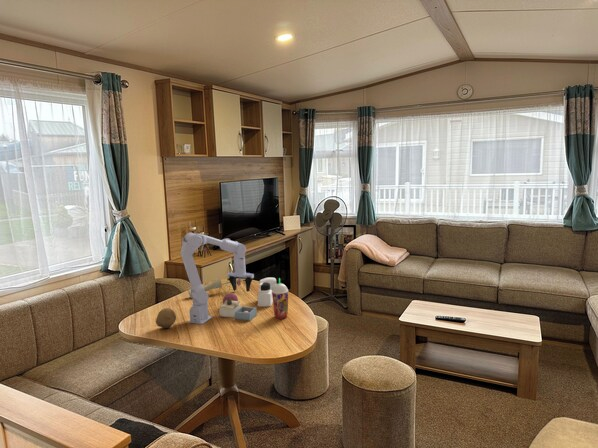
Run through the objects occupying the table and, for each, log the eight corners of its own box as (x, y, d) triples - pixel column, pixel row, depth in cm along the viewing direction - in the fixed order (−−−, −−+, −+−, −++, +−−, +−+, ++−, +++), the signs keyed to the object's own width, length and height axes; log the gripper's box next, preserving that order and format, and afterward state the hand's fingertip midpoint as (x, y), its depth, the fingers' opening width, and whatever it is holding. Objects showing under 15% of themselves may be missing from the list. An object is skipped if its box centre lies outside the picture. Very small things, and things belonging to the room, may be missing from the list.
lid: (233, 309, 206) (232, 302, 204) (220, 308, 208) (219, 301, 207) (239, 302, 212) (238, 296, 211) (226, 301, 215) (225, 295, 213)
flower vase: (193, 308, 244) (247, 286, 256) (195, 308, 232) (251, 286, 245) (187, 289, 245) (241, 269, 257) (188, 289, 233) (245, 267, 245)
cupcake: (225, 311, 222) (231, 312, 212) (217, 298, 221) (223, 299, 211) (238, 302, 226) (245, 303, 216) (230, 289, 225) (237, 290, 215)
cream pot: (233, 317, 206) (233, 310, 205) (219, 316, 208) (219, 308, 208) (240, 312, 213) (240, 304, 213) (227, 310, 216) (226, 303, 215)
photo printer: (275, 296, 237) (274, 275, 235) (278, 298, 233) (277, 277, 231) (258, 299, 232) (257, 278, 231) (261, 301, 229) (260, 280, 227)
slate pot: (250, 321, 201) (249, 313, 200) (235, 319, 203) (235, 311, 203) (256, 315, 208) (256, 307, 208) (242, 313, 211) (242, 306, 210)
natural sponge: (180, 328, 195) (178, 308, 193) (162, 334, 189) (160, 313, 187) (171, 323, 201) (170, 304, 200) (154, 328, 195) (152, 309, 194)
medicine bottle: (273, 302, 227) (272, 281, 225) (270, 306, 220) (269, 285, 218) (260, 302, 228) (259, 281, 226) (257, 306, 221) (256, 285, 219)
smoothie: (287, 320, 200) (285, 280, 197) (271, 319, 202) (269, 280, 199) (291, 313, 208) (289, 276, 205) (275, 313, 210) (273, 275, 207)
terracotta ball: (247, 317, 204) (247, 312, 203) (242, 317, 205) (242, 311, 204) (249, 315, 206) (249, 310, 206) (244, 315, 207) (244, 309, 207)
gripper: (255, 264, 215) (257, 289, 217) (231, 263, 220) (232, 287, 222) (250, 267, 208) (251, 293, 210) (224, 266, 213) (226, 291, 215)
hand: (241, 290), depth 216 cm, fingers open, 7 cm apart
